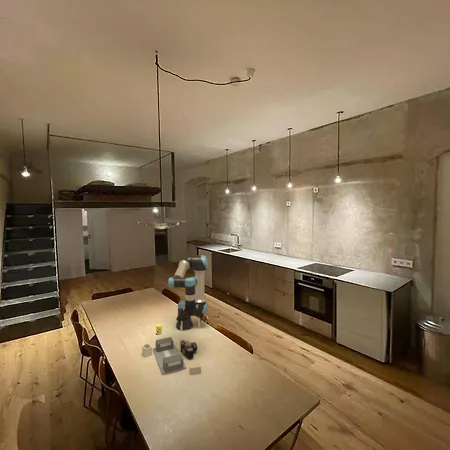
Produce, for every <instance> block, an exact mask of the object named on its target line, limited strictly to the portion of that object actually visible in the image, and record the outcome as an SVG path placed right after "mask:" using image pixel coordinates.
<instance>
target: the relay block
mask: <svg viewBox="0 0 450 450" xmlns="http://www.w3.org/2000/svg"><path fill="white" fill-rule="evenodd" d="M141 352H142V353H141V354H142V355H143V356H144V357H145V358H148V357H151V356H153V346H152V345H150V344H149V343H146V344H144V345H142V346H141Z"/></svg>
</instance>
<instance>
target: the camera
mask: <svg viewBox="0 0 450 450" xmlns="http://www.w3.org/2000/svg"><path fill="white" fill-rule="evenodd" d="M179 345H180V348H179V349H180V352H181V353H182V354H183V355H184V356H185V357H186V358H187V360H189V361H190V360H193V358H194V353H195V352H198V344H197V342H195V341H193V342H190V340H185V339H184V338H182V339H180V344H179Z"/></svg>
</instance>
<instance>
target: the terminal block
mask: <svg viewBox="0 0 450 450" xmlns="http://www.w3.org/2000/svg"><path fill="white" fill-rule="evenodd" d="M201 366H202V365H201V363H193V364H189V365H188V369H189V370H188V371H189V375H190V376H192V375H193V376H194V375H198V374H201V373H202V367H201Z"/></svg>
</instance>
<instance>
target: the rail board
mask: <svg viewBox="0 0 450 450" xmlns="http://www.w3.org/2000/svg"><path fill="white" fill-rule="evenodd" d="M152 352H153V353H154V356H155V359H156V361H157V364H158V367H159V369H160V373H161V375H162V376H163V375H167V374H170V373H174V372H178V371H183V370H187V366H186V364H185V361H184V358H183V356H182V354H181V353H179V351H178V348H176V345H175V344H174V340H173V338H172V336H170V337H164V338H159V339H155V347H152Z"/></svg>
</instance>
